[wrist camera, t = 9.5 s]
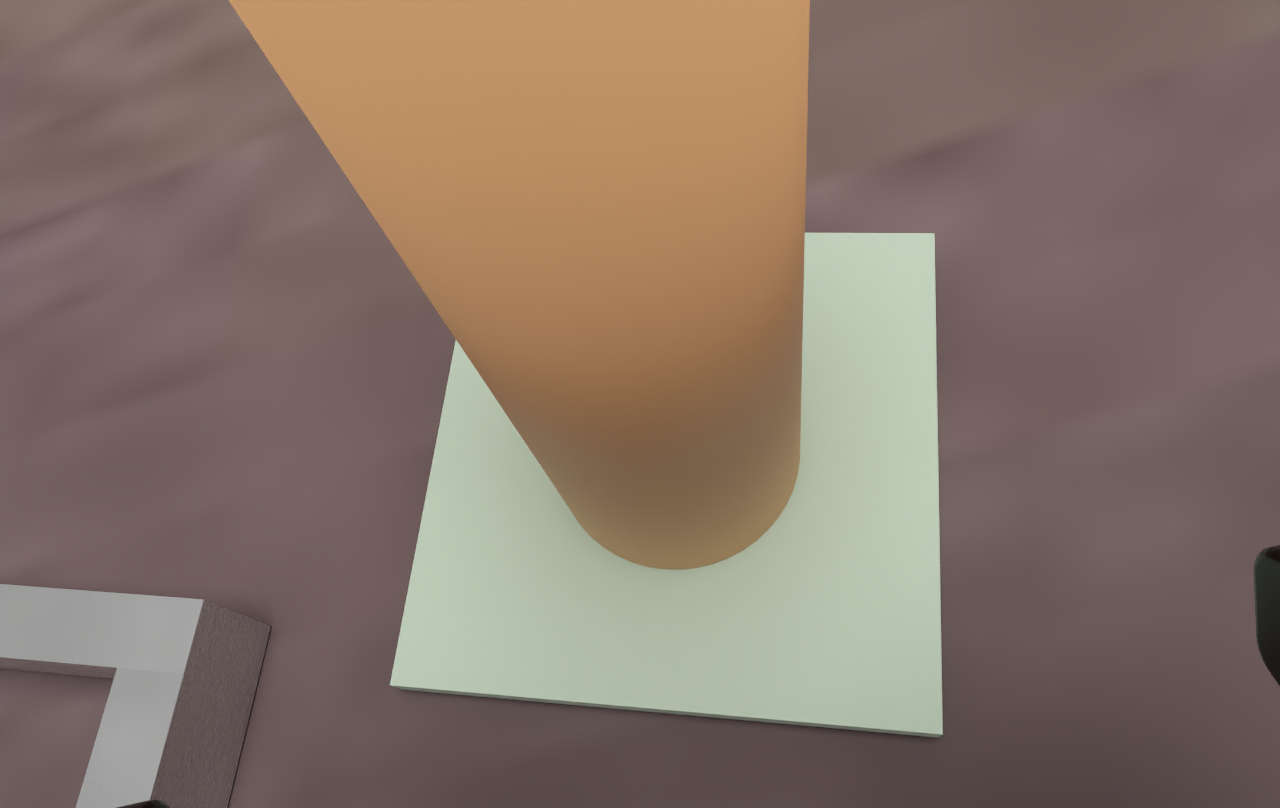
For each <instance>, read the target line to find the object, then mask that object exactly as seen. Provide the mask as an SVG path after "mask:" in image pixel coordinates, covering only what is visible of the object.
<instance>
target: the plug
mask: <svg viewBox="0 0 1280 808" xmlns="http://www.w3.org/2000/svg"><path fill="white" fill-rule="evenodd" d="M229 2H230V3H231V5H232V6H233V8H234V9H235V11H236V12H237V14H238V15H239V17H240V18H241V19H242V21H243V22H244V24H245V25H246V27H247V28H248V30H249V31H250V33H251V34H252V36H253V37H254V39H255V40H256V42H257V43H258V45H259V46H260V48H261V49H262V51H263V52H264V54H265V55H266V57H267V58H268V60H269V61H270V63H271V64H272V66H273V67H274V69H275V70H276V72H277V73H278V75H279V76H280V78H281V79H282V81H283V82H284V84H285V85H286V87H287V88H288V90H289V91H290V93H291V94H292V96H293V97H294V99H295V100H296V102H297V103H298V105H299V106H300V107H301V109H302V110H303V112H304V113H305V115H306V116H307V118H308V119H309V121H310V122H311V124H312V125H313V127H314V128H315V130H316V131H317V133H318V134H319V136H320V137H321V139H322V140H323V142H324V143H325V145H326V146H327V148H328V149H329V151H330V152H331V154H332V155H333V157H334V158H335V160H336V161H337V163H338V164H339V166H340V167H341V169H342V170H343V172H344V173H345V175H346V176H347V178H348V179H349V181H350V182H351V184H352V185H353V187H354V188H355V190H356V191H357V192H358V194H359V195H360V197H361V198H362V200H363V201H364V203H365V204H366V206H367V207H368V209H369V210H370V212H371V213H372V215H373V216H374V218H375V219H376V221H377V222H378V224H379V225H380V227H381V228H382V230H383V231H384V233H385V234H386V236H387V237H388V239H389V240H390V242H391V243H392V245H393V246H394V248H395V249H396V251H397V252H398V254H399V255H400V257H401V258H402V260H403V261H404V263H405V264H406V266H407V267H408V269H409V270H410V272H411V273H412V275H413V276H414V278H415V279H416V280H417V282H418V283H419V285H420V286H421V288H422V289H423V291H424V292H425V294H426V295H427V297H428V298H429V300H430V301H431V303H432V304H433V306H434V307H435V309H436V310H437V312H438V313H439V315H440V316H441V318H442V319H443V321H444V322H445V324H446V325H447V327H448V328H449V330H450V331H451V333H452V334H453V336H454V337H455V339H456V340H457V342H458V343H459V345H460V346H461V348H462V349H463V351H464V352H465V354H466V355H467V357H468V358H469V360H470V361H471V363H472V364H473V365H474V367H475V368H476V370H477V371H478V373H479V374H480V376H481V377H482V379H483V380H484V382H485V383H486V385H487V386H488V388H489V389H490V391H491V392H492V394H493V395H494V397H495V398H496V400H497V401H498V403H499V404H500V406H501V407H502V409H503V410H504V412H505V413H506V415H507V416H508V418H509V419H510V421H511V422H512V424H513V425H514V427H515V428H516V430H517V431H518V433H519V434H520V436H521V437H522V439H523V440H524V442H525V443H526V445H527V446H528V448H529V449H530V451H531V452H532V453H533V455H534V456H535V458H536V459H537V461H538V462H539V464H540V465H541V467H542V468H543V470H544V471H545V473H546V474H547V476H548V477H549V479H550V480H551V482H552V483H553V485H554V486H555V488H556V489H557V491H558V492H559V494H560V495H561V497H562V498H563V500H564V501H565V503H566V504H567V506H568V507H569V509H570V510H571V512H572V513H573V515H574V516H575V518H576V519H577V521H578V522H579V523H580V525H581V526H582V527H583V528H584V530H585V531H586V532H587V533H588V534H589V535H590V536H591V537H592V538H593V539H594V540H595V541H597V542H598V543H599V544H600V545H601V546H603V547H604V548H606V549H607V550H609V551H610V552H612V553H614V554H615V555H617V556H619V557H621V558H624V559H626V560H628V561H630V562H633V563H636V564H640V565H643V566H646V567H652V568H659V569H675V570H681V569H691V568H698V567H702V566H706V565H711V564H714V563H717V562H719V561H722V560H725V559H727V558H729V557H731V556H733V555H735V554H737V553H739V552H741V551H743V550H744V549H746V548H747V547H748V546H750V545H751V544H753V543H754V542H755V541H757V540H758V539H759V538H760V537H761V536H762V535H763V534H764V533H765V532H766V531H767V530H769V528H770V527H771V526H772V525H773V523H774V522H775V521H776V520H777V519H778V517H779V516H780V514H781V513H782V511H783V509H784V508H785V506H786V505H787V503H788V500H789V498H790V496H791V494H792V492H793V489H794V486H795V482H796V479H797V475H798V470H799V463H800V434H801V387H802V340H803V293H804V245H805V198H806V151H807V104H808V57H809V9H810V0H229Z"/></svg>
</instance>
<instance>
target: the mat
mask: <svg viewBox="0 0 1280 808" xmlns="http://www.w3.org/2000/svg"><path fill="white" fill-rule="evenodd" d="M390 685H391V686H393V687H396V688H399V689H402V690H413V691H424V692H435V693H446V694H458V695H469V696H480V697H491V698H502V699H513V700H524V701H536V702H547V703H558V704H569V705H580V706H591V707H603V708H614V709H625V710H636V711H647V712H658V713H669V714H681V715H692V716H703V717H714V718H725V719H736V720H747V721H759V722H770V723H781V724H792V725H803V726H814V727H825V728H837V729H848V730H859V731H870V732H881V733H892V734H904V735H915V736H926V737H937V738H938V737H940V736H941V735H943V722H942V662H941V601H940V541H939V481H938V420H937V360H936V300H935V239H934V233H805V245H804V293H803V340H802V387H801V434H800V463H799V470H798V475H797V479H796V482H795V486H794V489H793V492H792V494H791V496H790V498H789V500H788V503H787V505H786V506H785V508H784V509H783V511H782V513H781V514H780V516H779V517H778V519H777V520H776V521H775V522H774V523H773V525H772V526H771V527H770V528H769V530H767V531H766V532H765V533H764V534H763V535H762V536H761V537H760V538H759V539H758V540H757V541H755V542H754V543H753V544H751V545H750V546H748V547H747V548H746V549H744V550H743V551H741V552H739V553H737V554H735V555H733V556H731V557H729V558H727V559H725V560H722V561H719V562H717V563H714V564H711V565H706V566H702V567H698V568H691V569H681V570H675V569H659V568H652V567H646V566H643V565H640V564H636V563H633V562H630V561H628V560H626V559H624V558H621V557H619V556H617V555H615V554H614V553H612V552H610V551H609V550H607V549H606V548H604V547H603V546H601V545H600V544H599V543H598V542H597V541H595V540H594V539H593V538H592V537H591V536H590V535H589V534H588V533H587V532H586V531H585V530H584V528H583V527H582V526H581V525H580V523H579V522H578V521H577V519H576V518H575V516H574V515H573V513H572V512H571V510H570V509H569V507H568V506H567V504H566V503H565V501H564V500H563V498H562V497H561V495H560V494H559V492H558V491H557V489H556V488H555V486H554V485H553V483H552V482H551V480H550V479H549V477H548V476H547V474H546V473H545V471H544V470H543V468H542V467H541V465H540V464H539V462H538V461H537V459H536V458H535V456H534V455H533V453H532V452H531V451H530V449H529V448H528V446H527V445H526V443H525V442H524V440H523V439H522V437H521V436H520V434H519V433H518V431H517V430H516V428H515V427H514V425H513V424H512V422H511V421H510V419H509V418H508V416H507V415H506V413H505V412H504V410H503V409H502V407H501V406H500V404H499V403H498V401H497V400H496V398H495V397H494V395H493V394H492V392H491V391H490V389H489V388H488V386H487V385H486V383H485V382H484V380H483V379H482V377H481V376H480V374H479V373H478V371H477V370H476V368H475V367H474V365H473V364H472V363H471V361H470V360H469V358H468V357H467V355H466V354H465V352H464V351H463V349H462V348H461V346H460V345H459V343H458V342H457V340H456V342H455V347H454V352H453V357H452V363H451V368H450V373H449V378H448V383H447V389H446V394H445V399H444V404H443V410H442V415H441V420H440V425H439V431H438V436H437V441H436V446H435V452H434V457H433V462H432V467H431V473H430V478H429V483H428V488H427V494H426V499H425V504H424V509H423V515H422V520H421V525H420V530H419V535H418V541H417V546H416V551H415V556H414V562H413V567H412V572H411V577H410V583H409V588H408V593H407V598H406V604H405V609H404V614H403V619H402V625H401V630H400V635H399V640H398V646H397V651H396V656H395V661H394V666H393V672H392V677H391V682H390Z"/></svg>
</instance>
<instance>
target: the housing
mask: <svg viewBox="0 0 1280 808" xmlns="http://www.w3.org/2000/svg"><path fill="white" fill-rule="evenodd" d="M270 629H271V626H270V625H267V624H265V623H262V622H260V621H257V620H254V619H252V618H249V617H247V616H244V615H242V614H239V613H237V612H234V611H232V610H229V609H226V608H224V607H221V606H219V605H216V604H214V603H211V602H209V601H206V600H203V599H190V598H176V597H163V596H150V595H137V594H124V593H110V592H97V591H84V590H71V589H58V588H45V587H31V586H18V585H5V584H0V669H10V670H20V671H31V672H42V673H53V674H64V675H74V676H85V677H96V678H107V679H114V680H113V683H112V687H111V690H110V694H109V697H108V700H107V704H106V707H105V710H104V714H103V717H102V721H101V724H100V727H99V731H98V734H97V738H96V741H95V744H94V748H93V751H92V754H91V758H90V761H89V765H88V768H87V771H86V775H85V778H84V782H83V785H82V788H81V792H80V795H79V799H78V802H77V805H76V808H117V807H121V806H126V805H130V804H134V803H139V802H143V801H148V800H152V799H156V800H160V801H163V802H165V803H166V804H167V805H168V806H170V807H171V808H227V807H228V803H229V799H230V795H231V791H232V786H233V782H234V778H235V774H236V770H237V766H238V762H239V757H240V753H241V749H242V745H243V741H244V737H245V733H246V728H247V724H248V720H249V716H250V712H251V708H252V703H253V699H254V695H255V691H256V687H257V683H258V679H259V674H260V670H261V666H262V662H263V658H264V654H265V649H266V645H267V641H268V637H269V633H270Z"/></svg>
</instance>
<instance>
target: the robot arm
mask: <svg viewBox="0 0 1280 808" xmlns="http://www.w3.org/2000/svg"><path fill="white" fill-rule="evenodd" d="M1254 591H1255V616H1256V637H1257V644H1258V648H1259V651H1260V654H1261V656H1262V659H1263V661H1264V663H1265V665H1266V667H1267V668H1268V670H1269V672H1270V673H1271V675H1272V676H1273V677H1274V679H1275V680H1276V681H1277V683H1278V684H1279V686H1280V545H1278V546H1274V547H1269V548H1266V549H1263V550H1262V551H1261V552H1260V553H1259V554H1258V555H1257V557H1256V560H1255V563H1254ZM117 808H171V807H170V806H168V805H167V804H166V803H165V802H163V801H160V800H156V799H152V800H148V801H143V802H139V803H134V804H130V805H126V806H121V807H117Z"/></svg>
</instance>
